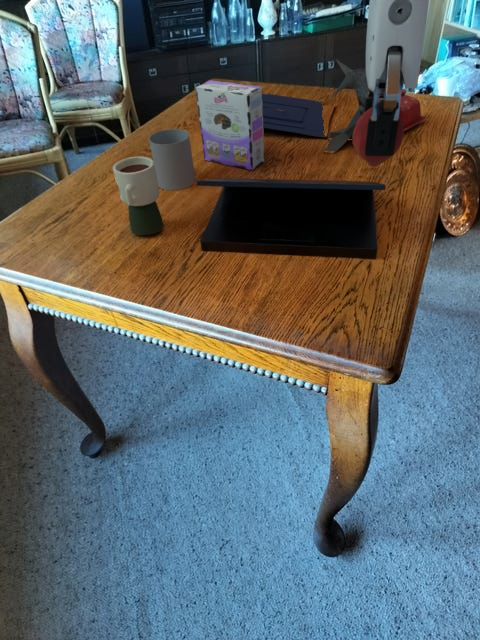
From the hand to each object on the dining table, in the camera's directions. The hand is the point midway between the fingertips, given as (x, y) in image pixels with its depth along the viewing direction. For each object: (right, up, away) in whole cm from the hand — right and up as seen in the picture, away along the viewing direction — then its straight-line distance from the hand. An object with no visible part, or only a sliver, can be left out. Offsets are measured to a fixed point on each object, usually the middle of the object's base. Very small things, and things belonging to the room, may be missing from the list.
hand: (377, 141), depth 56 cm
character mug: (-34, -4, +33) cm, 48 cm away
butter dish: (+24, +29, +64) cm, 74 cm away
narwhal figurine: (+13, +21, +57) cm, 62 cm away
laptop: (-7, -3, +32) cm, 33 cm away
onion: (0, -2, +2) cm, 3 cm away
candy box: (-18, +16, +54) cm, 59 cm away
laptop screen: (-7, +3, +29) cm, 30 cm away
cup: (-31, +9, +48) cm, 57 cm away
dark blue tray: (-6, +33, +71) cm, 79 cm away
